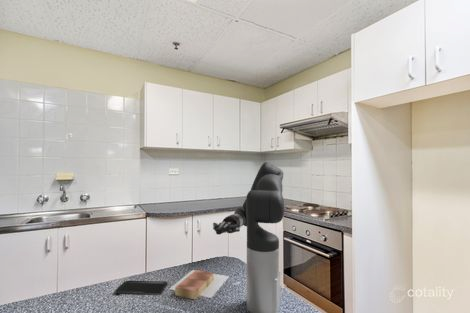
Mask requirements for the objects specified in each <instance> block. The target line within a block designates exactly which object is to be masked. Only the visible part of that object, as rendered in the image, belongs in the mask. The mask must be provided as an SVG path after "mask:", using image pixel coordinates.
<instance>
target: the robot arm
mask: <svg viewBox="0 0 470 313" xmlns="http://www.w3.org/2000/svg"><path fill="white" fill-rule="evenodd" d="M283 179H284V171H283V170H282V169H281V168H279V167H278V166H275V165H274V164H272V163H270V162H266V161H265V162H263V163H262V165H261V166H260V167H259V170H258V171H257V174H256V175H255V178H254V180H253V182H252V185H251V187H250V190H248V192H247V195H246V198H245V200H244V202H243V204H242V206H240V207H238V208H236V210H235V211H234V213H233V214H230V215H228V216H226V217H225V218H223V220H222V222H219V223H217V222H213V223H212V229H213V231H214V232H215V234H216V235H220V236H221V234H226V233H227V234H233V233H238V232H240V230H241V227H243V226H244V227H246V293H245V294H246V299H245V300H246V304H245V306H246V309H247V310H248V312H249V313H279V310H280V307H281V271H280V239H279V237H278V236H277V235H276V234H275V233H272V232H270V231H268V230H266V229H264V228H263V227H262V226H260V225H259V224H279V223H280V222H282V220H283V218H284V214H285V201H284V197H283Z"/></svg>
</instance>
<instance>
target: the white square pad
mask: <svg viewBox="0 0 470 313" xmlns="http://www.w3.org/2000/svg"><path fill="white" fill-rule="evenodd" d="M194 271H195V269H192V270H190V271H189V272H188V273H186V274H185V275H184V276H183V277H181V279H179V280H178V281H177V282H176V283H175V284H173V285H171V287H170V288H169V290H172V291H175V287H176V286H178V285H179V284H180V283H181V282H182V281H183V280H185V279H186V278H187V277H188V276H189V275H191V274H192V273H193V272H194ZM228 278H230V276H229V275H223V274H217V273H214V280H213V281H212V282H211V284H210V285H209V286H208V287H207V288H206V289H205V290H204V291H203V292H202V293H201V294H200V295H199V296H198V297H204V298H208V299H209V298H210V299H212V298H213V297H214V296H215V295H216V293H217V292H218V290H219V289H220V288H221V287H222V285H224V283H225V282H226V281H227V280H228Z"/></svg>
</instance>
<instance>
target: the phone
mask: <svg viewBox="0 0 470 313" xmlns="http://www.w3.org/2000/svg"><path fill="white" fill-rule="evenodd" d="M168 284H169V282H168V281H159V280H158V281H155V280H154V281H152V280H125V281H124V282H122V283H121V284H120V285H119V286H118V287H117V289H114V295H115V296H121V295H138V296H139V295H142V296H143V295H144V296H145V295H147V296H160V295H162V294H163V292H164V291H165V289H166V288H167V286H168Z"/></svg>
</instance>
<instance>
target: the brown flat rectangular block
mask: <svg viewBox="0 0 470 313" xmlns="http://www.w3.org/2000/svg"><path fill="white" fill-rule="evenodd" d="M194 270H195V269H194ZM214 274H215V273H214V272H210V271H203V270H199V269H198V270H197V269H196V270H195V271H194V272H193V273H192V274H191V275H189V276H188V277H187V278H186V279H185V280H183V281H182V282H181V283H180V284H179V285H178V286H176V287H175V290H174V291H175V292H174V293H175V294H174V295H175V296H177V297H181V298H185V299H186V298H187V299H191V300H195V301H196V300H197V298H199V297H200V296H199V295H200V294H201V293H202V292H203V291H204V290H205V289H206V288H207V287H208V286H209V285H210V284H211V282H212V281H213V280H214Z"/></svg>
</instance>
